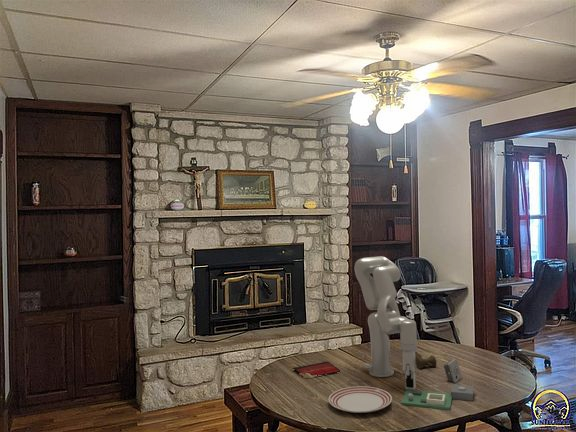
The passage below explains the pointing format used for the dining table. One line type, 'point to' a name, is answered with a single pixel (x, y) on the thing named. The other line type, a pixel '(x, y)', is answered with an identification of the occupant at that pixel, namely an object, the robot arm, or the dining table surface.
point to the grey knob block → (462, 392)
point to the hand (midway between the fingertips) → (410, 385)
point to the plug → (413, 381)
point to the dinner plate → (360, 399)
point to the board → (427, 399)
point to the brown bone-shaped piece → (425, 361)
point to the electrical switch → (453, 371)
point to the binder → (318, 369)
